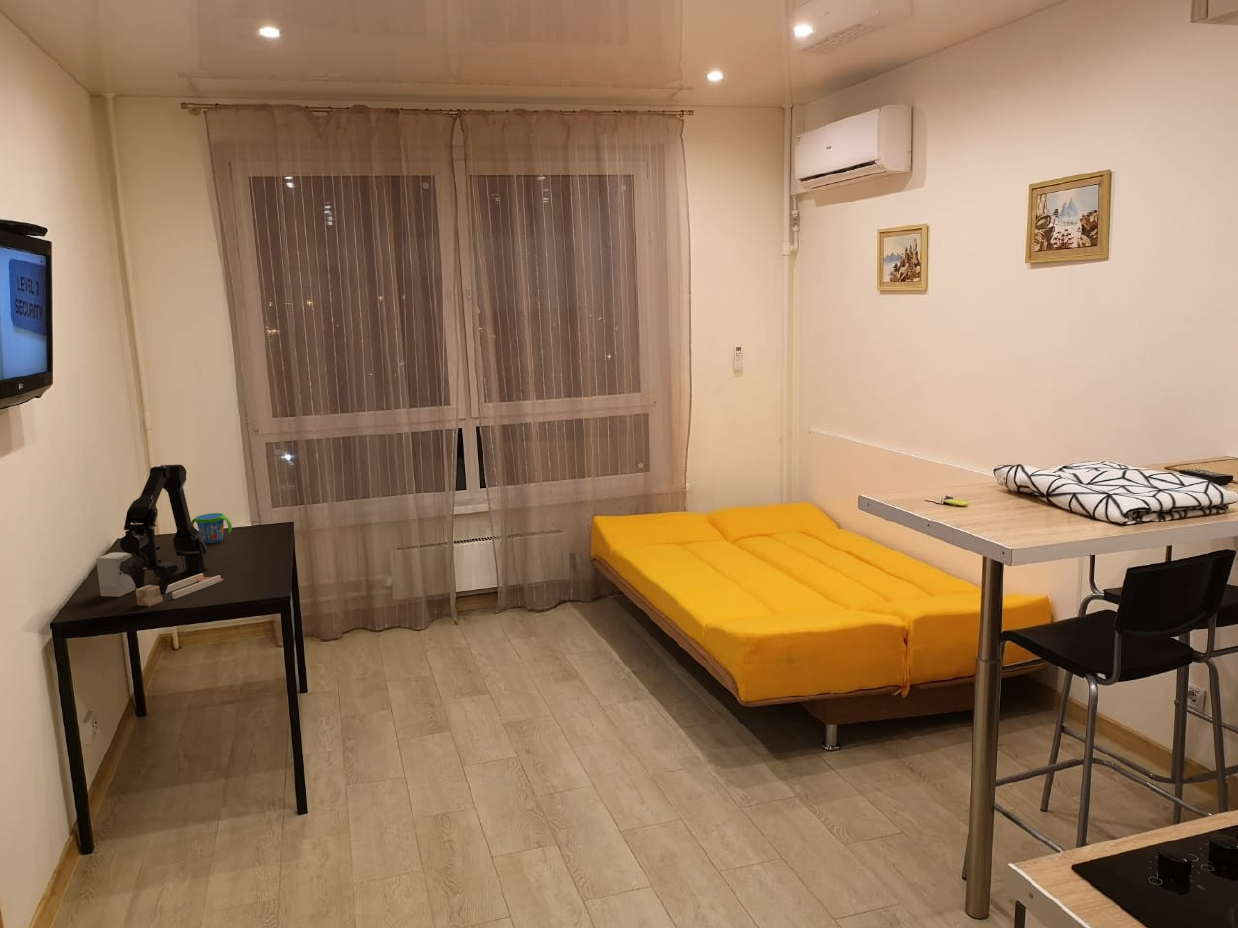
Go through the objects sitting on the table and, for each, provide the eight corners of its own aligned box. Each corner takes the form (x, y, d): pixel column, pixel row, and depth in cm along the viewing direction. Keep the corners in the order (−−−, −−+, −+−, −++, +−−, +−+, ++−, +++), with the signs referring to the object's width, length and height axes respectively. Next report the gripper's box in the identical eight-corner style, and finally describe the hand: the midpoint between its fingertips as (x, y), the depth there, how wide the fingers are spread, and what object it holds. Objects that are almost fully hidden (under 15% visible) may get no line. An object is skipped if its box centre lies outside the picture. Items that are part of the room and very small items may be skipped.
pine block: (137, 605, 291) (135, 589, 290) (151, 600, 296) (149, 584, 295) (149, 606, 289) (147, 591, 289) (162, 601, 294) (161, 586, 293)
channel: (154, 596, 299) (154, 590, 299) (204, 578, 317) (203, 572, 317) (175, 598, 296) (174, 592, 296) (223, 580, 314) (223, 574, 314)
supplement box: (120, 597, 300) (115, 558, 297) (100, 596, 301) (94, 558, 299) (136, 589, 307) (131, 552, 305) (116, 589, 308) (111, 551, 306)
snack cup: (185, 544, 362) (182, 518, 361) (202, 537, 373) (199, 512, 371) (222, 545, 360) (219, 519, 358) (238, 538, 370) (235, 512, 368)
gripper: (101, 549, 286) (107, 598, 289) (146, 554, 279) (152, 604, 282) (132, 540, 297) (138, 587, 299) (176, 544, 290) (182, 593, 292)
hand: (152, 593), depth 293 cm, fingers open, 9 cm apart
